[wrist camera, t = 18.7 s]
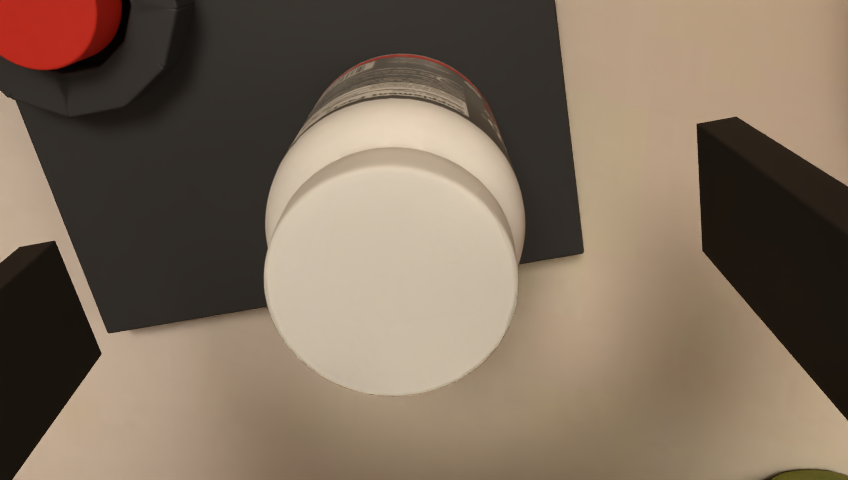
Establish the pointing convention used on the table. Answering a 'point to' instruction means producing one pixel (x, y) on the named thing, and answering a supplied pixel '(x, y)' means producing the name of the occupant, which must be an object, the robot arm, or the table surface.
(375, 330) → the pill bottle
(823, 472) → the plant pot
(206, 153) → the black flat block
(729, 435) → the table surface
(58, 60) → the button
